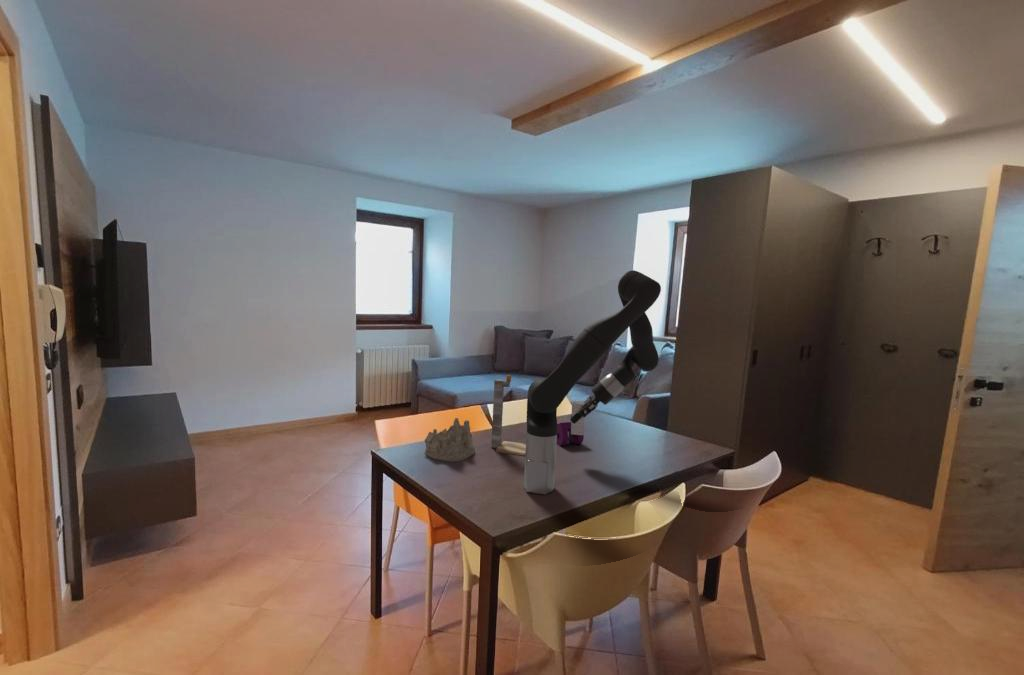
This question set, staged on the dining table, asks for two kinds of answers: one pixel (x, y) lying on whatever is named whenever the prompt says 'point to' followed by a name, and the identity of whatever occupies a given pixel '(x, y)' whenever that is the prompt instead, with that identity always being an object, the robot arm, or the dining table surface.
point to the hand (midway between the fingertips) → (572, 419)
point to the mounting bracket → (563, 434)
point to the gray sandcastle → (450, 443)
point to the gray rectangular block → (579, 425)
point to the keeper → (497, 422)
